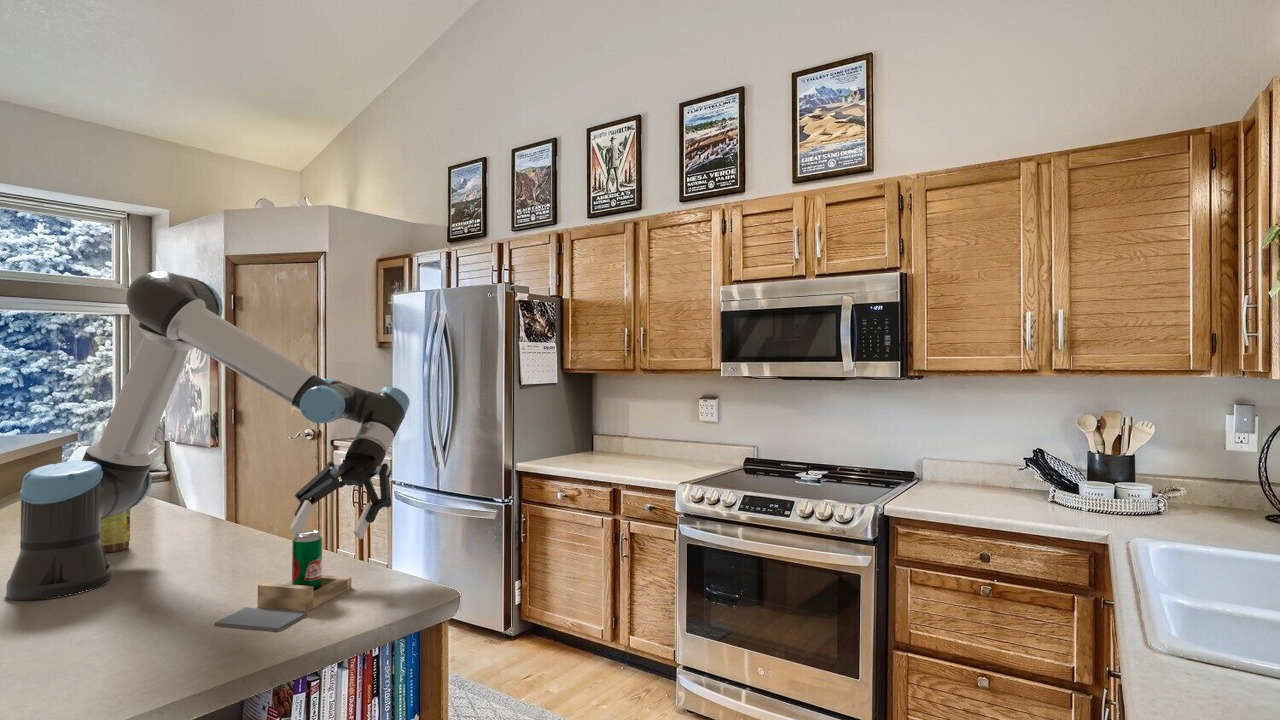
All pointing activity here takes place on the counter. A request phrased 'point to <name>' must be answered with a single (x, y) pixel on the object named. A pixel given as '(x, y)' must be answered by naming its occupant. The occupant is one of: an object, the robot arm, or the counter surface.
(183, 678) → the counter surface
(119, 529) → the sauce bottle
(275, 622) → the rubber mat
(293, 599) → the oak frame
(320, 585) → the soda can
